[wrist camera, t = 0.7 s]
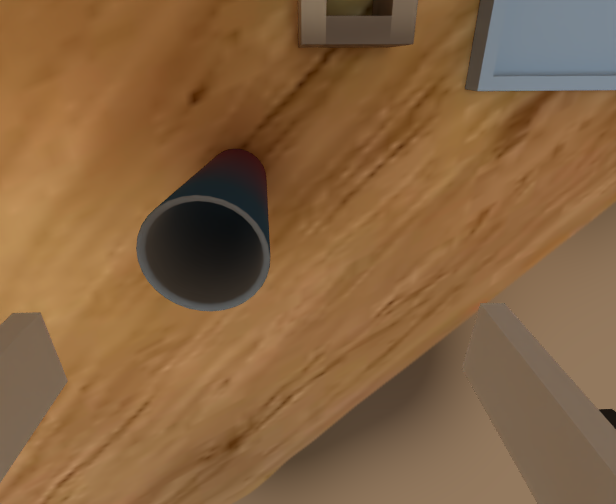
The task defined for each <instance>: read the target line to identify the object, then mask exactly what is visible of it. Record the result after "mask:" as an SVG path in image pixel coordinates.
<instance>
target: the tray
mask: <svg viewBox="0 0 616 504" xmlns="http://www.w3.org/2000/svg"><path fill="white" fill-rule="evenodd" d="M465 89H467V90H474V91H546V90H616V0H480V5H479V11H478V17H477V22H476V28H475V34H474V40H473V46H472V52H471V57H470V63H469V69H468V75H467V81H466V86H465Z"/></svg>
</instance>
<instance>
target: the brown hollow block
mask: <svg viewBox="0 0 616 504" xmlns="http://www.w3.org/2000/svg"><path fill="white" fill-rule="evenodd" d="M417 5H418V0H373V11H372V16H326V0H298V44H299V48H312V47H395V46H403V45H410V44H413V42H414V32H415V23H416V14H417Z"/></svg>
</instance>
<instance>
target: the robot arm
mask: <svg viewBox="0 0 616 504" xmlns="http://www.w3.org/2000/svg"><path fill="white" fill-rule="evenodd" d="M462 370H463V372H464V374H465V376H466V377H467V379H468V381H469V382H470V384H471V386H472V388H473V390H474V392H475V393H476V395H477V397H478V399H479V400H480V402H481V404H482V406H483V407H484V409H485V411H486V413H487V414H488V416H489V418H490V420H491V422H492V423H493V425H494V427H495V429H496V431H497V432H498V434H499V436H500V438H501V439H502V441H503V443H504V445H505V447H506V449H507V450H508V452H509V454H510V456H511V457H512V459H513V461H514V463H515V464H516V466H517V468H518V470H519V472H520V473H521V475H522V477H523V479H524V480H525V482H526V484H527V486H528V488H529V489H530V491H531V493H532V495H533V496H534V498H535V500H536V502H537V504H616V412H615V411H614V410H612V409H601V410H598V409H597V408H596V406H595V405H594V404H593V403H592V402H591V401H590V400H589V398H588V397H587V396H586V395H585V394H584V393H583V392H582V391H581V389H580V388H579V387H578V386H577V385H576V384H575V383H574V381H573V380H572V379H571V378H570V377H569V376H568V375H567V373H565V371H564V370H563V369H562V368H561V367H560V366H559V364H558V363H557V362H556V361H555V360H554V359H553V358H552V357H551V356H550V354H549V353H548V352H547V351H546V350H545V349H544V347H543V346H542V345H541V344H540V343H539V342H538V341H537V339H535V337H534V336H533V335H532V334H531V333H530V332H529V330H528V329H527V328H526V327H525V326H524V325H523V324H522V323H521V321H520V320H519V319H518V318H517V317H516V316H515V314H513V312H512V311H511V310H510V309H509V308H508V307H507V306H506V304H505V303H480V307H479V310H478V314H477V317H476V321H475V325H474V328H473V331H472V335H471V339H470V342H469V346H468V349H467V353H466V356H465V360H464V364H463V367H462ZM66 383H67V378H66V376H65V373H64V371H63V368H62V366H61V363H60V361H59V358H58V355H57V353H56V350H55V348H54V345H53V343H52V340H51V338H50V335H49V333H48V330H47V328H46V325H45V323H44V320H43V318H42V315H41V313H12V314H11V315H10V316H9V317H8V318H7V319H6V320H5V321H4V322H3V323H2V324H1V325H0V482H1V481H2V479H3V478H4V476H5V475H6V473H7V472H8V470H9V469H10V467H11V466H12V464H13V463H14V461H15V460H16V458H17V457H18V455H19V454H20V452H21V451H22V449H23V448H24V446H25V445H26V443H27V442H28V440H29V439H30V437H31V436H32V434H33V432H34V431H35V429H36V428H37V426H38V425H39V423H40V422H41V420H42V419H43V417H44V416H45V414H46V413H47V411H48V410H49V408H50V407H51V405H52V404H53V402H54V401H55V399H56V398H57V396H58V395H59V393H60V392H61V390H62V389H63V387H64V386H65V384H66Z"/></svg>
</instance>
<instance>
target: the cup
mask: <svg viewBox="0 0 616 504" xmlns="http://www.w3.org/2000/svg"><path fill="white" fill-rule="evenodd" d="M136 249H137V257H138V262H139V264H140V267H141V270H142V272H143V274H144V275H145V277H146V279H147V280H148V282H149V283H150V284H151V285H152V286H153V287H154V288H155V290H156V291H158V292H159V293H160V294H161V295H163V296H164V297H165V298H167V299H169V300H170V301H172V302H174V303H176V304H178V305H181V306H183V307H186V308H189V309H194V310H199V311H219V310H225V309H229V308H232V307H236V306H238V305H240V304H242V303H244V302H246V301H247V300H248V299H249V298H251V297H252V296H253V295H255V293H256V292H257V291H258V290H259V289H260V288H261V287H262V285H263V283H264V281H265V279H266V277H267V274H268V271H269V267H270V242H269V222H268V203H267V183H266V173H265V170H264V167H263V165H262V164H261V162H260V161H259V160H258V158H257V157H255V156H254V155H253V154H251V153H249V152H247V151H245V150H241V149H229V150H226V151H223V152H222V153H220V154H218V155H217V156H216V157H215V158H214V159H212V160H211V161H210V162H209V163H208V164H207V165H205V166H204V167H203V168H202V169H201V170H200V171H199V172H197V173H196V174H195V175H194V176H193V177H192V178H190V179H189V180H188V181H187V182H186V183H185V184H183V185H182V186H181V187H180V188H179V189H178V190H176V191H175V192H174V193H173V194H172V195H171V196H169V197H168V198H167V199H166V200H165V201H164V202H162V203H161V204H160V205H159V206H158V207H157V208H156V209H155V210H153V211H152V212H151V213H150V214H149V215H148V216H147V218H146V219H145V221H144V222H143V224H142V225H141V228H140V231H139V234H138V237H137V247H136Z"/></svg>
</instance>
